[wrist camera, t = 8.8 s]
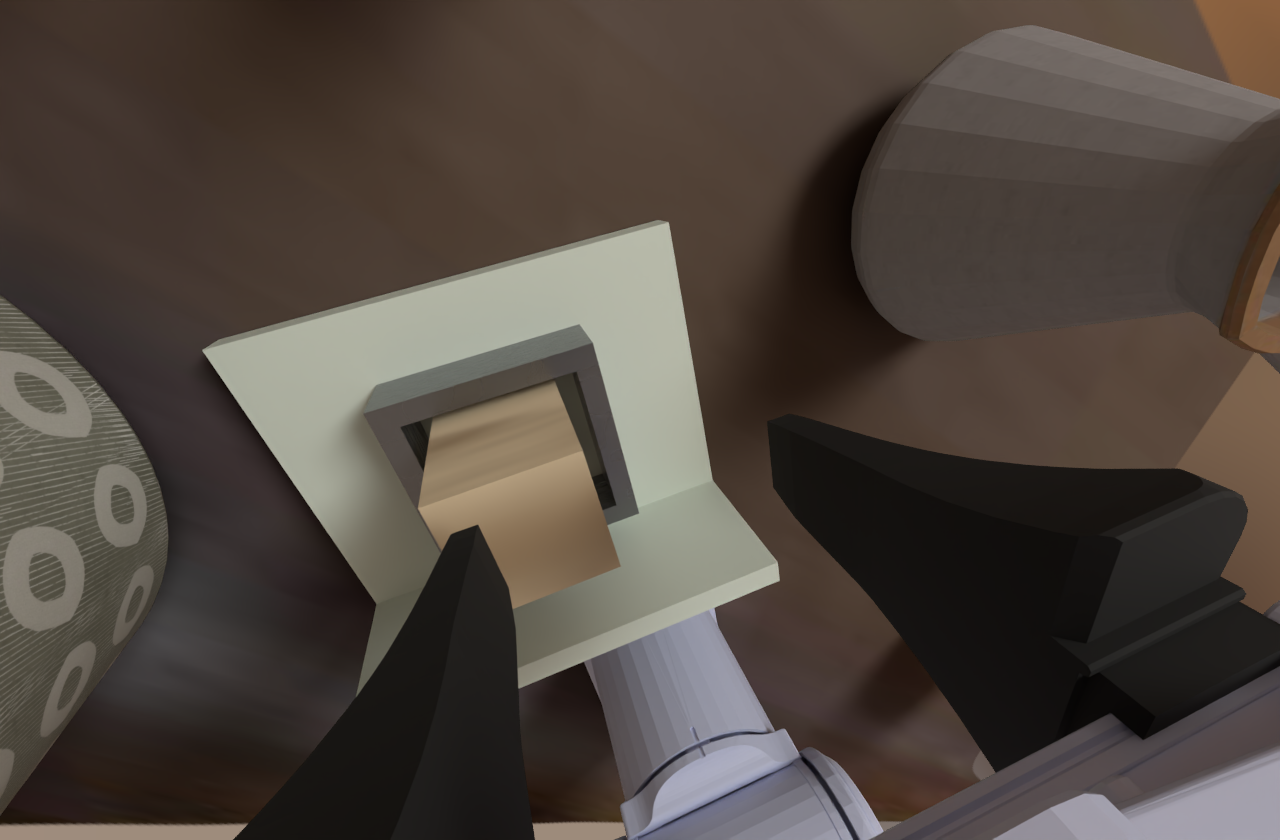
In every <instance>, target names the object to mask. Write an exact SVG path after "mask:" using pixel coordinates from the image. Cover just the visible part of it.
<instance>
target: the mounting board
mask: <svg viewBox="0 0 1280 840" xmlns="http://www.w3.org/2000/svg"><path fill="white" fill-rule="evenodd" d="M578 324H580V326H581V327H582V328H583V330H584V331H585V333H586V334H587V335H588V337H589V338H590V340H591V341H592V342H593V345H594V349H595V352H596V356H597V360H598V363H599V367H600V371H601V374H602V378H603V382H604V385H605V389H606V393H607V396H608V400H609V404H610V408H611V411H612V415H613V419H614V422H615V426H616V430H617V433H618V437H619V441H620V444H621V448H622V452H623V455H624V459H625V463H626V466H627V470H628V474H629V477H630V481H631V485H632V489H633V492H634V496H635V500H636V503H637V507H638V511H639V514H636V515H634V516H631V517H628V518H626V519H623V520H620V521H618V522H615V523H612V524H610V525H607V526H608V529H609V532H610V535H611V538H612V541H613V544H614V547H615V550H616V553H617V556H618V559H619V562H620V565H621V567H618V568H616V569H613V570H611V571H608V572H606V573H603V574H601V575H598V576H596V577H593V578H591V579H588V580H585V581H583V582H580V583H578V584H575V585H573V586H570V587H568V588H565V589H563V590H560V591H558V592H555V593H553V594H550V595H547V596H545V597H542V598H540V599H537V600H535V601H532V602H530V603H527V604H525V605H522V606H520V607H517V608H515V609H513V614H514V621H515V627H516V643H517V666H518V689H519V688H521V687H524V686H526V685H528V684H531V683H533V682H536V681H538V680H541V679H543V678H545V677H548V676H550V675H553V674H555V673H557V672H560V671H562V670H565V669H567V668H570V667H572V666H574V665H577V664H579V663H582V662H584V661H586V660H589V659H591V658H594V657H596V656H599V655H601V654H603V653H606V652H608V651H611V650H613V649H615V648H618V647H620V646H623V645H625V644H628V643H630V642H632V641H635V640H637V639H640V638H642V637H644V636H647V635H649V634H652V633H654V632H657V631H659V630H661V629H664V628H666V627H669V626H671V625H673V624H676V623H678V622H681V621H683V620H685V619H688V618H690V617H693V616H695V615H698V614H700V613H702V612H705V611H707V610H710V609H712V608H714V607H717V606H719V605H722V604H724V603H727V602H729V601H731V600H734V599H736V598H739V597H741V596H743V595H746V594H748V593H751V592H753V591H756V590H758V589H760V588H763V587H765V586H768V585H770V584H772V583H775V582H777V581H780V580H779V570H778V562H777V561H776V560H775V558H774V557H773V556H772V555H771V553H770V552H769V551H768V549H767V548H766V547H765V546H764V544H763V543H762V542H761V541H760V539H759V538H758V537H757V536H756V534H755V533H754V532H753V531H752V529H751V528H750V527H749V525H748V524H747V523H746V522H745V520H744V519H743V518H742V517H741V515H740V514H739V513H738V512H737V510H736V509H735V508H734V507H733V505H732V504H731V503H730V501H729V500H728V499H727V498H726V496H725V495H724V494H723V493H722V491H721V490H720V489H719V488H718V486H717V485H716V484H715V483H714V481H713V480H712V474H711V468H710V462H709V456H708V450H707V445H706V439H705V433H704V427H703V421H702V415H701V409H700V403H699V398H698V392H697V386H696V380H695V374H694V368H693V362H692V357H691V351H690V345H689V339H688V333H687V327H686V321H685V316H684V310H683V304H682V298H681V292H680V286H679V280H678V274H677V269H676V263H675V257H674V251H673V245H672V239H671V233H670V228H669V222H665V221H660V220H656V221H653V222H649V223H645V224H642V225H638V226H634V227H630V228H627V229H623V230H619V231H616V232H612V233H608V234H605V235H601V236H597V237H594V238H590V239H586V240H583V241H579V242H575V243H572V244H568V245H564V246H561V247H557V248H553V249H550V250H546V251H542V252H539V253H535V254H531V255H528V256H524V257H520V258H517V259H513V260H509V261H506V262H502V263H498V264H495V265H491V266H487V267H484V268H480V269H476V270H473V271H469V272H465V273H462V274H458V275H454V276H451V277H447V278H443V279H440V280H436V281H432V282H428V283H425V284H421V285H417V286H414V287H410V288H406V289H403V290H399V291H395V292H392V293H388V294H384V295H381V296H377V297H373V298H370V299H366V300H362V301H359V302H355V303H351V304H348V305H344V306H340V307H337V308H333V309H329V310H326V311H322V312H318V313H315V314H311V315H307V316H304V317H300V318H296V319H293V320H289V321H285V322H282V323H278V324H274V325H271V326H267V327H263V328H260V329H256V330H252V331H249V332H245V333H241V334H238V335H234V336H230V337H226V338H223V339H219V340H217V341H216V342H214V343H213V344H211V345H210V346H208V347H206V348H205V349H203V350H202V351H203V352H204V354H205V355H206V357H207V358H208V360H209V361H210V362H211V364H212V365H213V367H214V368H215V370H216V371H217V373H218V374H219V376H220V377H221V378H222V380H223V381H224V383H225V384H226V386H227V387H228V389H229V390H230V392H231V393H232V394H233V396H234V397H235V399H236V400H237V402H238V403H239V405H240V406H241V408H242V409H243V410H244V412H245V413H246V415H247V416H248V418H249V419H250V421H251V422H252V424H253V425H254V426H255V428H256V429H257V431H258V432H259V434H260V435H261V437H262V438H263V440H264V441H265V442H266V444H267V445H268V447H269V448H270V450H271V451H272V453H273V454H274V456H275V457H276V458H277V460H278V461H279V463H280V464H281V466H282V467H283V469H284V470H285V472H286V473H287V474H288V476H289V477H290V479H291V480H292V482H293V483H294V485H295V486H296V488H297V489H298V490H299V492H300V493H301V495H302V496H303V498H304V499H305V501H306V502H307V504H308V505H309V506H310V508H311V509H312V511H313V512H314V514H315V515H316V517H317V518H318V520H319V521H320V522H321V524H322V525H323V527H324V528H325V530H326V531H327V533H328V534H329V536H330V537H331V538H332V540H333V541H334V543H335V544H336V546H337V547H338V549H339V550H340V552H341V553H342V554H343V556H344V557H345V559H346V560H347V562H348V563H349V565H350V566H351V568H352V569H353V570H354V572H355V573H356V575H357V576H358V578H359V579H360V581H361V582H362V584H363V585H364V586H365V588H366V589H367V591H368V592H369V594H370V595H371V597H372V598H373V600H374V601H375V602H376V609H375V613H374V618H373V622H372V627H371V631H370V636H369V640H368V645H367V649H366V654H365V658H364V663H363V667H362V671H361V676H360V680H359V685H358V689H357V694H356V697H357V695H358V694H359V692H360V691H361V690H362V688H363V687H364V685H365V684H366V683H367V681H368V680H369V678H370V677H371V675H372V674H373V673H374V671H375V670H376V668H377V667H378V665H379V664H380V662H381V661H382V659H383V658H384V656H385V655H386V653H387V651H388V650H389V648H390V647H391V645H392V643H393V642H394V640H395V638H396V636H397V635H398V633H399V631H400V630H401V628H402V626H403V625H404V623H405V621H406V620H407V618H408V616H409V614H410V612H411V611H412V609H413V607H414V605H415V603H416V601H417V599H418V598H419V596H420V594H421V592H422V590H423V588H424V586H425V584H426V582H427V580H428V578H429V576H430V574H431V572H432V570H433V568H434V566H435V564H436V562H437V560H438V558H439V556H440V554H441V553H440V552H439V550H438V548H437V546H436V544H435V543H434V541H433V539H432V537H431V535H430V533H429V532H428V530H427V528H426V526H425V524H424V523H423V521H422V519H421V517H420V515H419V514H418V512H417V510H416V508H415V506H414V505H413V503H412V501H411V499H410V497H409V496H408V494H407V492H406V490H405V488H404V487H403V485H402V483H401V481H400V479H399V478H398V476H397V474H396V472H395V470H394V469H393V467H392V465H391V463H390V461H389V460H388V458H387V456H386V454H385V452H384V450H383V449H382V447H381V445H380V443H379V441H378V440H377V438H376V436H375V434H374V432H373V431H372V429H371V427H370V425H369V423H368V422H367V420H366V418H365V416H364V414H363V413H364V411H365V408H366V406H367V404H368V402H369V400H370V398H371V395H372V393H373V391H374V389H375V387H376V385H378V384H381V383H385V382H388V381H391V380H395V379H398V378H401V377H405V376H408V375H411V374H415V373H418V372H421V371H425V370H428V369H431V368H435V367H438V366H441V365H445V364H448V363H451V362H455V361H458V360H461V359H465V358H468V357H471V356H475V355H478V354H481V353H485V352H488V351H491V350H495V349H498V348H501V347H505V346H508V345H511V344H515V343H518V342H521V341H525V340H528V339H531V338H535V337H538V336H541V335H545V334H548V333H551V332H555V331H558V330H561V329H565V328H568V327H571V326H575V325H578ZM554 381H555V383H556V386H557V388H558V391H559V393H560V396H561V398H562V400H563V403H564V405H565V408H566V410H567V413H568V415H569V418H570V420H571V423H572V425H573V428H574V430H575V433H576V435H577V438H578V440H579V443H580V445H581V448H582V450H583V453H584V456H585V459H586V462H587V465H588V468H589V471H590V474H591V477H594V476H597V475H599V474H602V470H601V467H600V463H599V460H598V457H597V453H596V450H595V447H594V443H593V440H592V437H591V434H590V430H589V427H588V424H587V420H586V417H585V414H584V410H583V407H582V404H581V401H580V397H579V394H578V391H577V387H576V384H575V381H574V377H573V374H572V373H570V374H566V375H563V376H560V377H557V378H554ZM432 419H433V417H430V418H427V419H424V420H421V421H420V422H421V424H422V426H423V428H424V430H425V432H426V434H427V436H428V438H429V437H430V431H431V425H432Z"/></svg>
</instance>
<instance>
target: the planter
mask: <svg viewBox="0 0 1280 840" xmlns="http://www.w3.org/2000/svg"><path fill="white" fill-rule="evenodd" d="M168 540H169V536H168V523H167V513H166V508H165V504H164V500H163V495H162V491H161V488H160V485H159V482H158V479H157V477H156V474H155V471H154V469H153V466H152V463H151V461H150V459H149V457H148V455H147V454H146V452H145V450H144V448H143V446H142V444H141V442H140V440H139V438H138V436H137V435H136V433H135V432H134V430H133V429H132V427H131V426H130V424H129V423H128V421H127V420H126V418H125V417H124V415H123V414H122V412H121V411H120V409H119V408H118V406H117V405H116V404H115V403H114V402H113V400H112V399H111V398H110V397H109V395H108V394H107V393H106V392H105V391H104V389H103V388H102V387H101V386H100V384H99V383H98V382H97V381H96V380H95V379H94V377H93V376H92V375H91V374H90V373H89V372H88V371H87V370H86V369H85V368H84V367H83V366H82V365H81V364H80V363H79V362H78V361H77V360H76V359H75V358H74V357H73V356H72V355H71V354H70V353H69V351H68V350H67V349H65V348H64V347H63V346H62V345H61V344H60V343H59V342H57V341H56V340H55V339H54V338H53V337H52V336H51V335H50V334H48V333H47V332H46V331H45V330H44V329H43V328H42V327H41V326H39V325H38V324H37V323H36V322H35V321H34V320H33V319H31V318H30V317H29V316H27V315H26V314H25V313H23V312H22V311H21V310H20V309H18V308H17V307H16V306H14V305H13V304H12V303H10V302H9V301H8V300H7V299H5V298H4V297H3V296H1V295H0V815H1V814H2V812H3V811H4V810H5V808H6V807H7V806H8V804H9V803H10V802H11V800H12V799H13V798H14V796H15V795H16V793H17V792H18V791H19V789H20V788H21V787H22V785H23V784H24V783H25V781H26V780H27V779H28V777H29V776H30V775H31V773H32V772H33V770H34V769H35V768H36V766H37V765H38V764H39V762H40V761H41V760H42V758H43V757H44V756H45V754H46V753H47V752H48V750H49V749H50V747H51V746H52V745H53V743H54V742H55V741H56V739H57V738H58V737H59V735H60V734H61V733H62V731H63V730H64V729H65V727H66V726H67V724H68V723H69V722H70V720H71V719H72V718H73V716H74V715H75V714H76V712H77V711H78V710H79V708H80V707H81V706H82V704H83V703H84V701H85V700H86V699H87V697H88V696H89V695H90V693H91V692H92V691H93V689H94V688H95V687H96V685H97V684H98V683H99V681H100V680H101V679H102V677H103V676H104V674H105V673H106V672H107V670H108V669H109V668H110V666H111V665H112V664H113V662H114V661H115V660H116V658H117V657H118V656H119V654H120V653H121V651H122V650H123V649H124V647H125V646H126V645H127V643H128V642H129V641H130V639H131V638H132V637H133V635H134V634H135V633H136V631H137V630H138V628H139V627H140V626H141V624H142V623H143V621H144V619H145V618H146V616H147V614H148V612H149V611H150V609H151V607H152V606H153V603H154V601H155V598H156V596H157V594H158V591H159V589H160V586H161V583H162V579H163V575H164V571H165V567H166V562H167V553H168Z"/></svg>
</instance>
